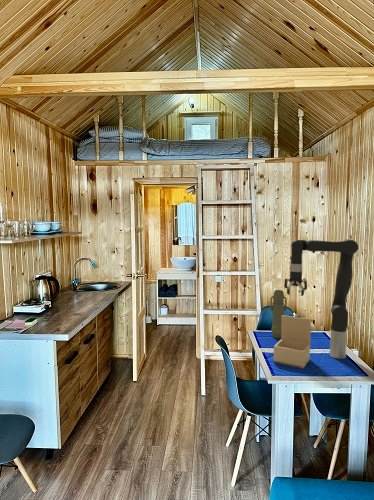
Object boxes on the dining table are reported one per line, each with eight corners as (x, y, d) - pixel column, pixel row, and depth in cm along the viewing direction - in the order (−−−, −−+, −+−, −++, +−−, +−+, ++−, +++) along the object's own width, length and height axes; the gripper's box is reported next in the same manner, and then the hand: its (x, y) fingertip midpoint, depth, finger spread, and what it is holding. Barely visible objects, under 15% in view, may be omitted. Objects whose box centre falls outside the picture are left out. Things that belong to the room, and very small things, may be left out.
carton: (309, 359, 228) (310, 344, 227) (303, 368, 214) (304, 351, 213) (280, 354, 237) (281, 339, 236) (273, 362, 223) (273, 346, 223)
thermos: (287, 338, 270) (288, 291, 268) (271, 338, 270) (272, 291, 267) (283, 334, 279) (285, 289, 277) (268, 334, 279) (269, 289, 276)
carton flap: (310, 344, 227) (312, 339, 233) (310, 319, 225) (312, 315, 231) (281, 339, 236) (284, 335, 242) (281, 315, 234) (284, 311, 240)
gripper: (308, 270, 237) (307, 295, 238) (286, 269, 244) (286, 293, 245) (306, 272, 230) (305, 297, 231) (283, 270, 237) (282, 295, 239)
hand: (295, 295), depth 238 cm, fingers open, 8 cm apart
